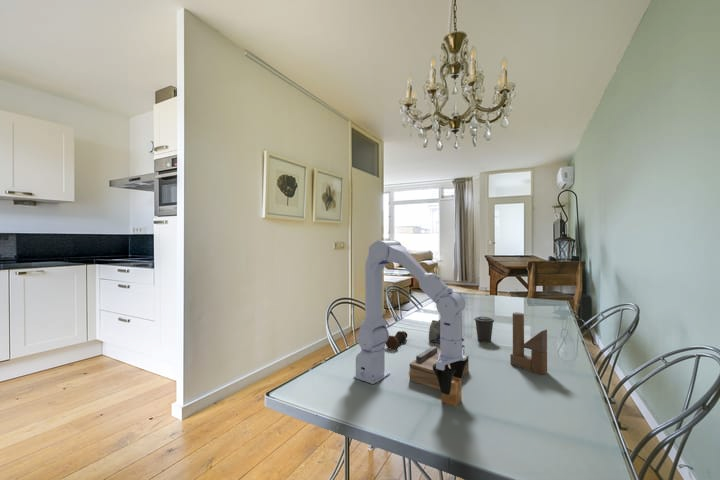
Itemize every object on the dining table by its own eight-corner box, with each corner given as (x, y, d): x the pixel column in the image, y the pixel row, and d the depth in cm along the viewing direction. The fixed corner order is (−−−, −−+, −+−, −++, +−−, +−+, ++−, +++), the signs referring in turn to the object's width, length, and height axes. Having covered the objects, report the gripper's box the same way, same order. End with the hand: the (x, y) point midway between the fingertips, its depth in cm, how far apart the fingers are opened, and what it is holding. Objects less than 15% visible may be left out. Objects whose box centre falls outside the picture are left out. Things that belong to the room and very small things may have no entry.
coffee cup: (470, 339, 137) (470, 316, 137) (483, 336, 141) (483, 314, 141) (484, 344, 130) (484, 320, 130) (498, 341, 133) (498, 318, 133)
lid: (448, 385, 89) (448, 368, 89) (409, 373, 97) (409, 358, 97) (470, 365, 103) (470, 351, 103) (434, 356, 111) (434, 343, 111)
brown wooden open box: (446, 391, 90) (446, 378, 90) (409, 380, 97) (409, 367, 97) (468, 371, 104) (468, 359, 104) (434, 362, 111) (434, 351, 111)
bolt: (406, 343, 138) (392, 352, 125) (396, 336, 140) (382, 345, 127) (412, 332, 137) (399, 341, 124) (402, 325, 139) (389, 333, 126)
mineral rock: (465, 345, 129) (465, 321, 129) (447, 350, 124) (447, 324, 124) (442, 337, 141) (442, 314, 141) (424, 341, 135) (424, 317, 135)
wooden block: (542, 375, 100) (541, 319, 100) (510, 364, 109) (509, 313, 109) (547, 372, 102) (547, 317, 102) (515, 362, 111) (515, 311, 111)
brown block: (455, 406, 82) (455, 384, 82) (441, 402, 84) (441, 379, 84) (461, 400, 85) (461, 378, 85) (447, 396, 87) (447, 374, 87)
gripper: (455, 348, 76) (455, 403, 76) (475, 334, 88) (475, 382, 88) (428, 342, 81) (428, 394, 81) (450, 329, 92) (451, 375, 92)
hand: (451, 387), depth 84 cm, fingers open, 7 cm apart
